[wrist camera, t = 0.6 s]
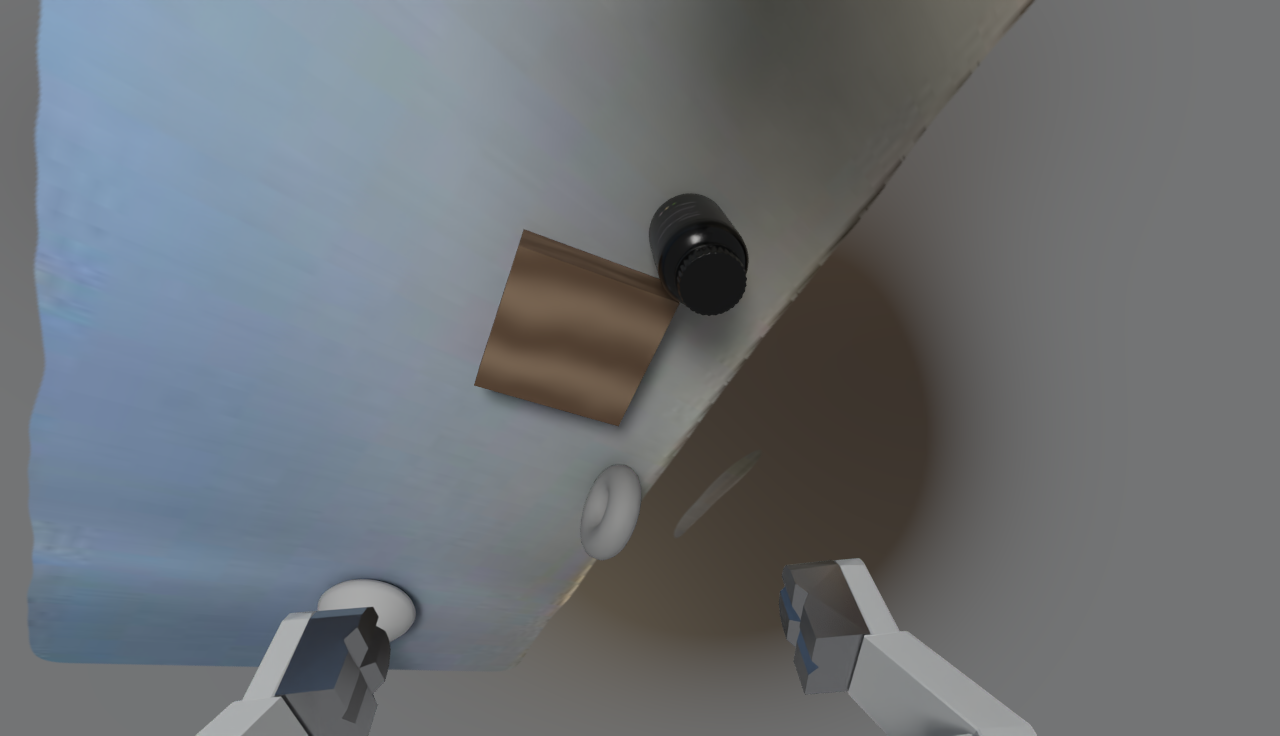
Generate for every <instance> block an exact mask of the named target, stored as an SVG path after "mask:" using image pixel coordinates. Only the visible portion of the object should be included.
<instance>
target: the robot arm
mask: <svg viewBox="0 0 1280 736" xmlns="http://www.w3.org/2000/svg"><path fill="white" fill-rule="evenodd" d="M782 578H783V581H784V584H785V587H784V588H783V589H782V590H781V591H780V597H779V608H780V617H781V622H782V626H783V629H784V633H785V636H786V639H787V640H788V641H789V642H790V643H791V644H792V645H794V646H795V647H796V649H795V656H794V664H795V667H796V670H797V673H798V676H799V679H800V681H801V685H802V688H803V691H804V693H805V695H806V694H818V693H830V692H844V691H848V694H849V695H850V696H851V697H852V698H853V700H854V701H855V702H856V703H857V704H859V706H860V707H861V708H862V709H863V710H864V711H865V712H866V713H867V714H868V715H869V716H870V717H871V719H873V721H874V722H875V723H876V724H877V725H878V726H879V727H880V728H881V729H882V730H883V731H884V732H885V733H886V734H887V735H888V736H1037V734H1036V733H1035V731H1034V730H1033V728H1032V726H1031V725H1030V724H1028V723H1027V722H1026V721H1024V720H1023V719H1022V718H1021V717H1019V716H1018V715H1017V714H1015V713H1014V712H1013V711H1011V710H1010V709H1009V708H1007V707H1006V706H1005V705H1004V704H1002V703H1001V702H1000V701H998V700H997V699H996V698H994V697H993V696H991V695H990V694H989V693H988V692H987V691H985V690H984V689H983V688H981V687H980V686H979V685H977V684H976V683H975V682H973V681H972V680H971V679H969V678H968V677H967V676H966V675H964V674H963V673H962V672H960V671H959V670H958V669H956V668H955V667H954V666H952V665H951V664H950V663H949V662H947V661H946V660H945V659H943V658H942V657H940V656H939V655H938V654H937V653H935V652H934V651H933V650H931V649H930V648H929V647H927V646H926V645H925V644H924V643H922V642H921V641H920V640H918V639H917V638H916V637H914V636H913V635H912V634H910V633H909V632H908V631H899V629H898V627H897V625H896V623H895V621H894V620H893V618H892V616H891V614H890V612H889V610H888V608H887V606H886V604H885V602H884V600H883V598H882V597H881V595H880V593H879V591H878V589H877V587H876V585H875V583H874V581H873V580H872V577H871V575H870V574H869V571H868V570H867V568H866V566H865V564H864V562H863V561H862V560H861V559H859V558H853V559H844V560H836V561H833V560H828V561H819V562H810V563H801V564H793V565H786V566H785V567H784V569H783V574H782ZM378 618H379V616H378V614H377V613H376V611H375V609H374V607H362V608H349V609H337V610H324V611H310V612H300V613H290V614H289V615H288V616H287V617H286V618H285V619H284V620H283V621H282V622H281V624H280V626H279V628H278V630H277V632H276V634H275V636H274V638H273V640H272V642H271V644H270V646H269V648H268V650H267V652H266V654H265V656H264V658H263V660H262V662H261V664H260V666H259V668H258V670H257V672H256V674H255V676H254V678H253V680H252V682H251V684H250V685H249V687H248V690H247V691H246V694H245V695H244V698H243V699H242V700H239V701H234V702H232V703H231V704H230V705H229V706H228V707H227V708H226V709H225V710H224V711H222V712H221V713H220V714H219V715H218V716H217V717H216V718H215V719H214V720H212V721H211V722H210V723H209V724H208V725H207V726H206V727H205V728H203V729H202V730H201V731H200V732H199V733H198V734H197V735H196V736H368V735H369V731H370V728H371V725H372V722H373V718H374V715H375V712H376V709H377V703H376V701H375V698H374V695H373V693H374V692H375V691H376V690H377V689H378V688H379V687H380V686H381V685H382V684H383V682H385V679H386V675H387V672H388V668H389V662H390V650H391V649H390V643H389V638H388V636H387V633H386V631H385V630H383V629H381V628H379V627H378V626H376V624H377V621H378Z"/></svg>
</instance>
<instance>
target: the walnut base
mask: <svg viewBox="0 0 1280 736" xmlns="http://www.w3.org/2000/svg"><path fill="white" fill-rule="evenodd" d="M678 305H679V302H678V301H676V300H675V299H674V298H672V297H671V296H670V295H669V294H668V293H667V291H666V290H665V288H664V287H663V285H662V283H661V280H660V279H658V278H655V277H652V276H650V275H647V274H644V273H641V272H639V271H636V270H633V269H631V268H628V267H625V266H622V265H620V264H617V263H614V262H611V261H609V260H606V259H603V258H601V257H598V256H595V255H592V254H590V253H587V252H584V251H582V250H579V249H576V248H573V247H571V246H568V245H565V244H562V243H560V242H557V241H554V240H552V239H549V238H546V237H543V236H541V235H538V234H535V233H532V232H530V231H527V230H524V231H523V234H522V237H521V240H520V243H519V246H518V249H517V252H516V255H515V258H514V261H513V265H512V268H511V271H510V274H509V277H508V280H507V283H506V286H505V289H504V292H503V296H502V299H501V302H500V305H499V308H498V311H497V314H496V317H495V320H494V323H493V327H492V330H491V333H490V336H489V339H488V342H487V345H486V348H485V351H484V354H483V357H482V361H481V364H480V367H479V370H478V374H477V377H476V381H475V384H474V386H478V387H482V388H485V389H489V390H492V391H496V392H499V393H503V394H506V395H510V396H513V397H517V398H520V399H524V400H527V401H531V402H534V403H538V404H542V405H545V406H549V407H552V408H556V409H559V410H563V411H566V412H570V413H573V414H577V415H580V416H584V417H587V418H591V419H595V420H598V421H602V422H605V423H609V424H612V425H616V426H619V424H620V422H621V420H622V418H623V416H624V414H625V412H626V410H627V408H628V406H629V404H630V402H631V400H632V398H633V396H634V394H635V392H636V390H637V388H638V386H639V384H640V382H641V380H642V378H643V376H644V374H645V372H646V370H647V368H648V366H649V364H650V362H651V360H652V358H653V356H654V354H655V352H656V350H657V348H658V346H659V344H660V342H661V340H662V338H663V336H664V334H665V332H666V329H667V327H668V325H669V323H670V321H671V319H672V317H673V315H674V313H675V311H676V309H677V307H678Z"/></svg>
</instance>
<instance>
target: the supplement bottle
mask: <svg viewBox="0 0 1280 736" xmlns="http://www.w3.org/2000/svg"><path fill="white" fill-rule="evenodd" d="M649 241H650V246H651V249H652V253H653V257H654V260H655V264H656V267H657V271H658V274H659V278H660V280H661V283H662V285H663V287H664V288H665V290H666V291H667V293H668V294H669V295H670V296H671V297H672V298H674V299H675V300H676V301H678V302H680V303H682V304H684V305H686V306H687V307H689V308H690V309H691V310H692V311H695V312H696V313H700V314H702V315H708V316H710V315H717V314H722V313H724V312H725V311H728V310H729V309H730V308H733V307H734V306H735V304H737V303H738V302H739V300H740V299H741V298H742V295H743V293H744V292H745V287H746V280H747V278H746V274H747V270H748V263H749V258H748V251H747V248H746V245H745V243H744V241H743V239H742V237H741V236H740V234H739V233H738V231H737V230H736V229H735V227H734V226H733V225H732V223H731V222H730V220H729V219H728V218H727V216H726V215H725V214H724V212H723V211H722V210H721V208H720V207H719V206H718V205H717V204H716V203H715V202H714V201H712V200H711V199H709V198H707V197H705V196H703V195H699V194H692V193H691V194H682V195H678V196H675V197H673V198H671V199H669V200H668V201H666V202H665V203H664V204H663V205H662V206H661V207H660V208H659V209H658V210H657V212H656V213H655V215H654V216H653V219H652V221H651V224H650V229H649Z"/></svg>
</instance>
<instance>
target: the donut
mask: <svg viewBox="0 0 1280 736" xmlns="http://www.w3.org/2000/svg"><path fill="white" fill-rule="evenodd" d="M640 506H641V485H640V481H639V478H638V476H637V474H636V473H635V472H634V471H633V470H632V469H631V468H630V467H628V466H627V465H612V466H610V467H608V468H607V469H605V470H604V471H603V472H602V473H601V474H600V475H599V477H598V478H597V479H596V480H595V482H594V484H593V486H592V487H591V489H590V492H589V494H588V496H587V499H586V502H585V505H584V508H583V513H582V518H581V527H580V535H581V543H582V545H583V547H584V549H585V551H586V553H587V554H588V555H589V556H591V557H593V558H596V559H598V560H606V559H609V558H612V557H614V556H616V555H617V554H618V553H619V552H620V551H621V550H622V549H623V548H624V547H625V545H626V544H627V542H628V540H629V539H630V537H631V535H632V533H633V531H634V528H635V526H636V523H637V519H638V516H639V512H640Z"/></svg>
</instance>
